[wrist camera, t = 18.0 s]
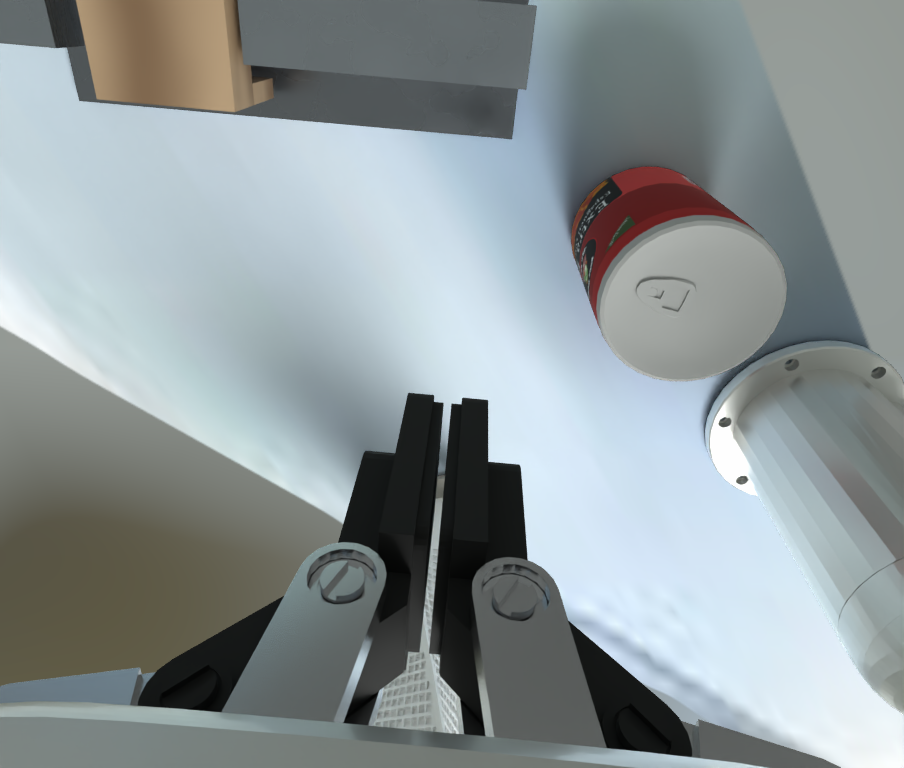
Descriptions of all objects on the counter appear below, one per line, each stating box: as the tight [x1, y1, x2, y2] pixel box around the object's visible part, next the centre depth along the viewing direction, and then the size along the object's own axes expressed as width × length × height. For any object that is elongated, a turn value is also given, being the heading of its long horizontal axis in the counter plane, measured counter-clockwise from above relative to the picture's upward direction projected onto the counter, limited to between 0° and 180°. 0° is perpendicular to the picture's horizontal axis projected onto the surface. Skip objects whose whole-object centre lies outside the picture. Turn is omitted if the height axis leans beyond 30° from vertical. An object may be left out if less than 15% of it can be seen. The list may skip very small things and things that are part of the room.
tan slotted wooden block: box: [76, 0, 274, 112], centre depth 26 cm, size 6×6×6 cm
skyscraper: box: [374, 475, 459, 734], centre depth 36 cm, size 8×8×28 cm
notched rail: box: [0, 0, 537, 139], centre depth 27 cm, size 24×9×7 cm, turn 86°
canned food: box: [571, 167, 787, 381], centre depth 30 cm, size 8×8×11 cm
